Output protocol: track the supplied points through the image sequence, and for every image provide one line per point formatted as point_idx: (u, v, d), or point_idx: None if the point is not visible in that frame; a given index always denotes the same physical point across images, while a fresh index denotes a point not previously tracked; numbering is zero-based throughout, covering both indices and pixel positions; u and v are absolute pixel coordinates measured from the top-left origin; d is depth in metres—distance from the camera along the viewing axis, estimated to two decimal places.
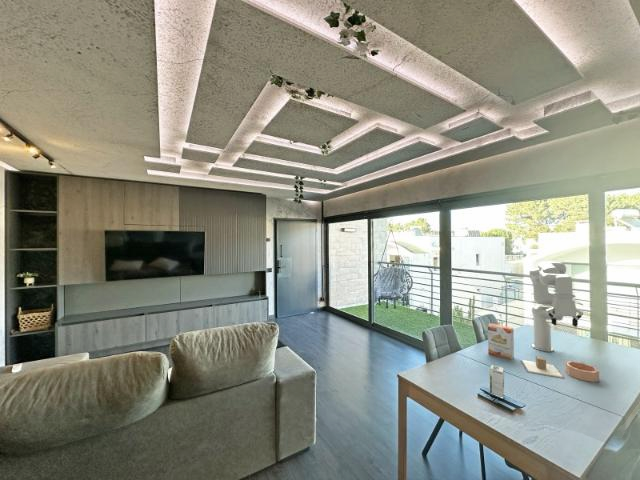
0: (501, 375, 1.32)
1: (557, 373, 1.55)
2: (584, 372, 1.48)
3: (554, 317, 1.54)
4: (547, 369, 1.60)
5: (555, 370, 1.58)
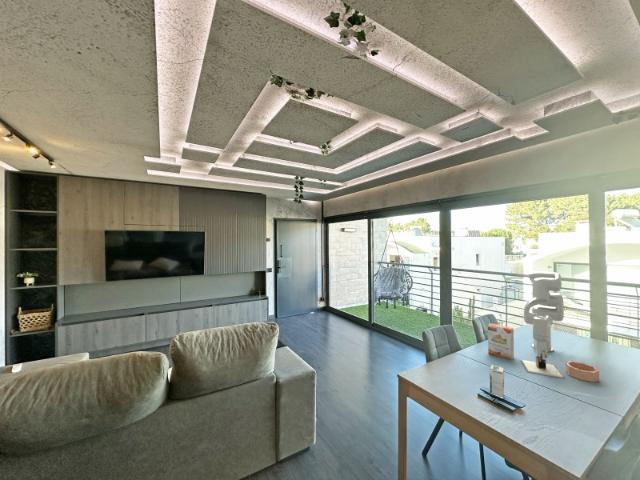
0: (501, 375, 1.32)
1: (557, 373, 1.55)
2: (584, 372, 1.48)
3: None
4: (547, 369, 1.60)
5: (555, 370, 1.58)
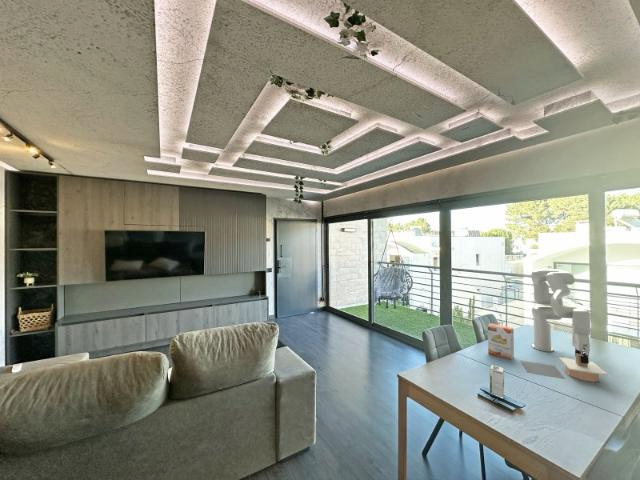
0: (501, 375, 1.32)
1: (600, 370, 1.46)
2: (584, 372, 1.48)
3: None
4: (589, 366, 1.52)
5: (597, 367, 1.50)
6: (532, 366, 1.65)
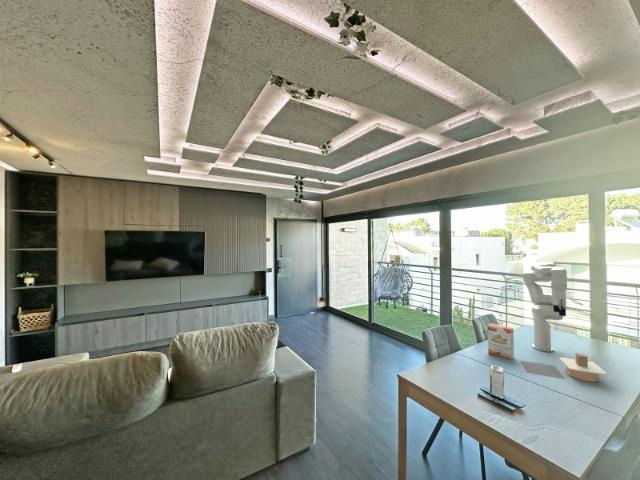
0: (501, 375, 1.32)
1: (600, 370, 1.46)
2: (584, 372, 1.48)
3: None
4: (589, 366, 1.52)
5: (597, 367, 1.50)
6: (532, 366, 1.65)
